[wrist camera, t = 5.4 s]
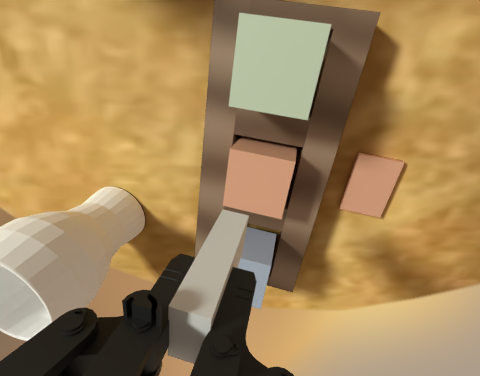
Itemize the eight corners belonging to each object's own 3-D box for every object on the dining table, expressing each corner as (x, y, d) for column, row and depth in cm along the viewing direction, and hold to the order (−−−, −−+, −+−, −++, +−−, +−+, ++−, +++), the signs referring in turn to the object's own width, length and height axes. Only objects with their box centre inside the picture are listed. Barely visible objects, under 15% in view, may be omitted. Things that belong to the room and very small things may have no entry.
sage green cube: (253, 26, 20) (239, 12, 15) (324, 35, 19) (331, 24, 14) (243, 99, 22) (228, 106, 18) (306, 110, 21) (307, 120, 17)
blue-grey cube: (226, 221, 27) (211, 250, 23) (276, 234, 27) (271, 266, 22) (221, 260, 30) (207, 293, 25) (267, 272, 29) (260, 308, 25)
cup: (163, 197, 32) (61, 287, 18) (147, 257, 37) (57, 363, 23) (87, 162, 32) (-67, 225, 19) (81, 225, 37) (-45, 312, 24)
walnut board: (225, 2, 22) (214, -7, 19) (370, 20, 20) (380, 12, 18) (202, 249, 34) (193, 265, 31) (293, 273, 32) (292, 292, 29)
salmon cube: (242, 135, 25) (229, 148, 21) (296, 145, 25) (295, 161, 20) (235, 184, 28) (222, 205, 23) (285, 195, 27) (281, 219, 23)
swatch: (358, 152, 25) (359, 153, 24) (402, 160, 24) (404, 162, 23) (339, 206, 27) (339, 208, 27) (378, 214, 27) (380, 217, 26)
